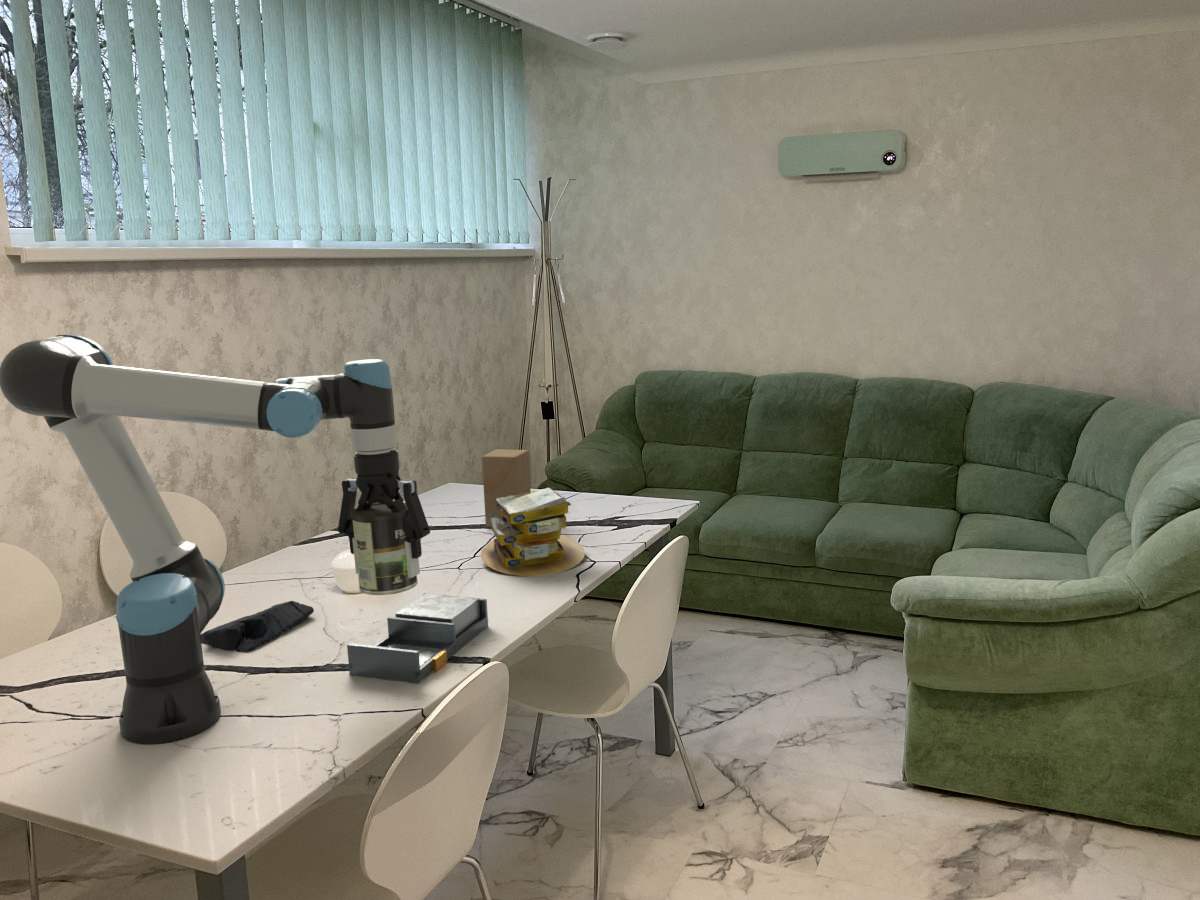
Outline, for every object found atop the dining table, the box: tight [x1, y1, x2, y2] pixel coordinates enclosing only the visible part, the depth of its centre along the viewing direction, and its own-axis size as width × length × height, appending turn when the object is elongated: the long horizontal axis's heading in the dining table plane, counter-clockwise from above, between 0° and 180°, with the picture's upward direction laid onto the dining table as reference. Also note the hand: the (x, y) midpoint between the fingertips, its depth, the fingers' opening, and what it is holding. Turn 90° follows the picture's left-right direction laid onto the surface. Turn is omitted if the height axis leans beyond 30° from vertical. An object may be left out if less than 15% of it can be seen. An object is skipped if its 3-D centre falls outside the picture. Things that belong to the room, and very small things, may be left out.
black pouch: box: [201, 600, 315, 652], centre depth 203 cm, size 15×22×5 cm
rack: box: [346, 592, 489, 684], centre depth 189 cm, size 28×15×6 cm, turn 161°
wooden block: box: [481, 448, 532, 529], centre depth 274 cm, size 10×10×20 cm
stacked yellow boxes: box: [480, 487, 586, 577], centre depth 241 cm, size 25×25×17 cm
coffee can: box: [351, 502, 419, 596], centre depth 176 cm, size 10×10×14 cm
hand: (387, 573), depth 177 cm, fingers closed on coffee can, 10 cm apart
